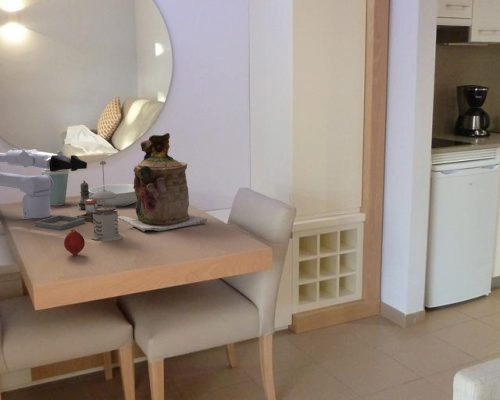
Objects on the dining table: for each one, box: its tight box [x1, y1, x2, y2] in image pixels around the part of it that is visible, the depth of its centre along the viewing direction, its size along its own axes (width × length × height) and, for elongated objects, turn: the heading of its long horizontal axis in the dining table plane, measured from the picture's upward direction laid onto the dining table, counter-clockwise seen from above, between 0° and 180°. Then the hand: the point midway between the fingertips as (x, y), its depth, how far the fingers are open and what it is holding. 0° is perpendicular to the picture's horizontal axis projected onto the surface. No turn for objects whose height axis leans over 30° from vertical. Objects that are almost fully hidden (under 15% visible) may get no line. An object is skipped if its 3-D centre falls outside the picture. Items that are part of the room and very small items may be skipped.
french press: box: [91, 160, 123, 242], centre depth 196 cm, size 10×12×25 cm
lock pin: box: [84, 197, 98, 217], centre depth 217 cm, size 5×5×7 cm
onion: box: [63, 228, 86, 256], centre depth 177 cm, size 6×6×8 cm
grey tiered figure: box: [77, 180, 90, 210], centre depth 233 cm, size 6×6×12 cm
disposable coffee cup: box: [40, 168, 70, 206], centre depth 245 cm, size 11×11×15 cm
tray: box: [34, 214, 86, 231], centre depth 210 cm, size 12×12×2 cm
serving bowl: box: [88, 183, 137, 208], centre depth 244 cm, size 21×21×7 cm
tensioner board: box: [74, 212, 120, 223], centre depth 221 cm, size 13×13×4 cm
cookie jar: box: [118, 132, 208, 232], centre depth 214 cm, size 25×25×32 cm
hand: (78, 165), depth 210 cm, fingers open, 7 cm apart
